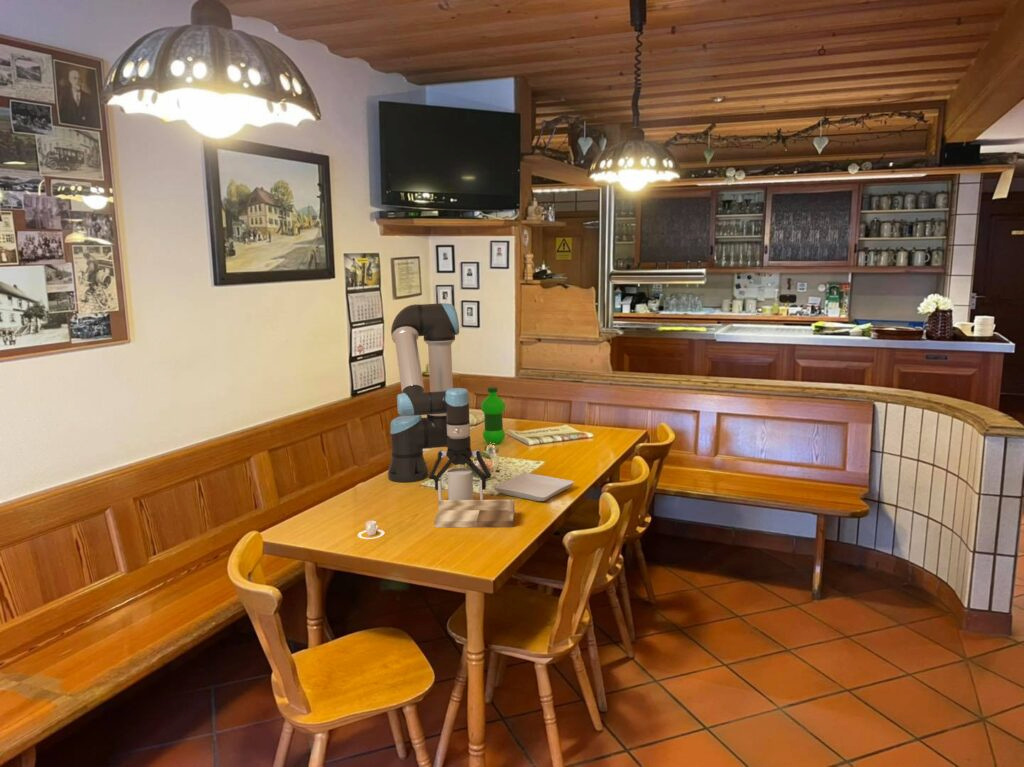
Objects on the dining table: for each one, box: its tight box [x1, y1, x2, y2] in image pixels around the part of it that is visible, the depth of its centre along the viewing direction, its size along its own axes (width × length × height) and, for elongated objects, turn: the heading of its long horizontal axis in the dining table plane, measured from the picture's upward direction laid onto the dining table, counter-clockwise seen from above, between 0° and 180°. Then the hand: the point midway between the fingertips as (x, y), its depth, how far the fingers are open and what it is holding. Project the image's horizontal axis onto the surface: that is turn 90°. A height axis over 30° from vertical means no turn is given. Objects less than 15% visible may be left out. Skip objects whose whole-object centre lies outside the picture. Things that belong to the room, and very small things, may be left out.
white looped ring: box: [357, 520, 386, 540], centre depth 221 cm, size 9×8×4 cm
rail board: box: [433, 499, 516, 529], centre depth 229 cm, size 24×11×5 cm, turn 87°
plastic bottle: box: [480, 386, 506, 445], centre depth 326 cm, size 10×10×25 cm
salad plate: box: [493, 472, 575, 502], centre depth 257 cm, size 21×21×3 cm
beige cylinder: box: [447, 467, 474, 500], centre depth 243 cm, size 8×8×12 cm
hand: (461, 499), depth 243 cm, fingers open, 13 cm apart
